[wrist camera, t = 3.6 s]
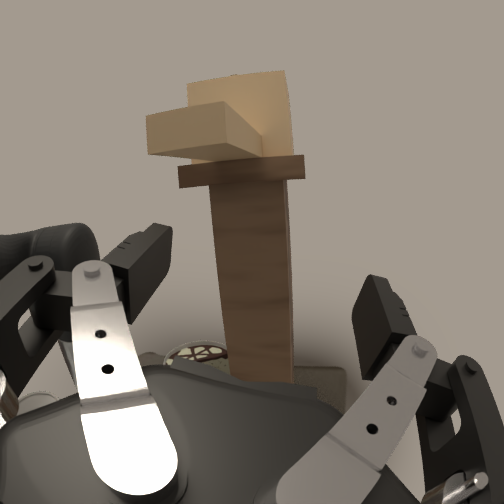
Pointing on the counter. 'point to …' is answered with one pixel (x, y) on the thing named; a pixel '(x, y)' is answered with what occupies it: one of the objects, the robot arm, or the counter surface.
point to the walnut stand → (253, 260)
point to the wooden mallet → (226, 120)
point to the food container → (202, 354)
